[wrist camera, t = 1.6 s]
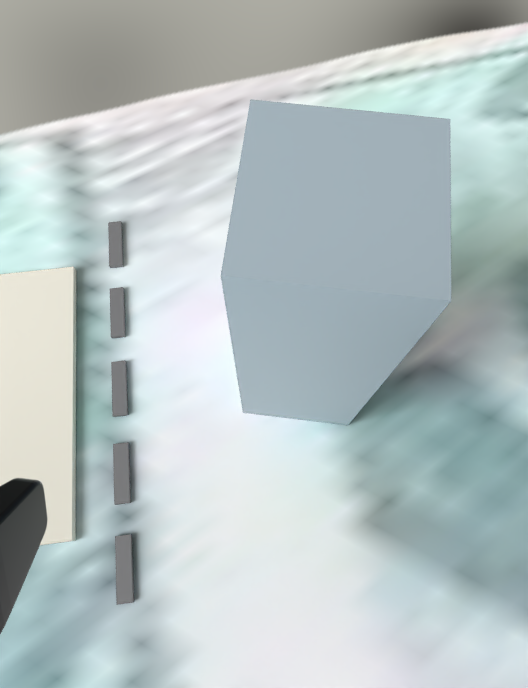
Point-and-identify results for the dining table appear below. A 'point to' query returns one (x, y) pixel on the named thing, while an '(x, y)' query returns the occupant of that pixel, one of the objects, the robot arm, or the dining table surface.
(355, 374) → the stub block
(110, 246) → the perforation line
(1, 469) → the coaster
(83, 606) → the dining table surface
